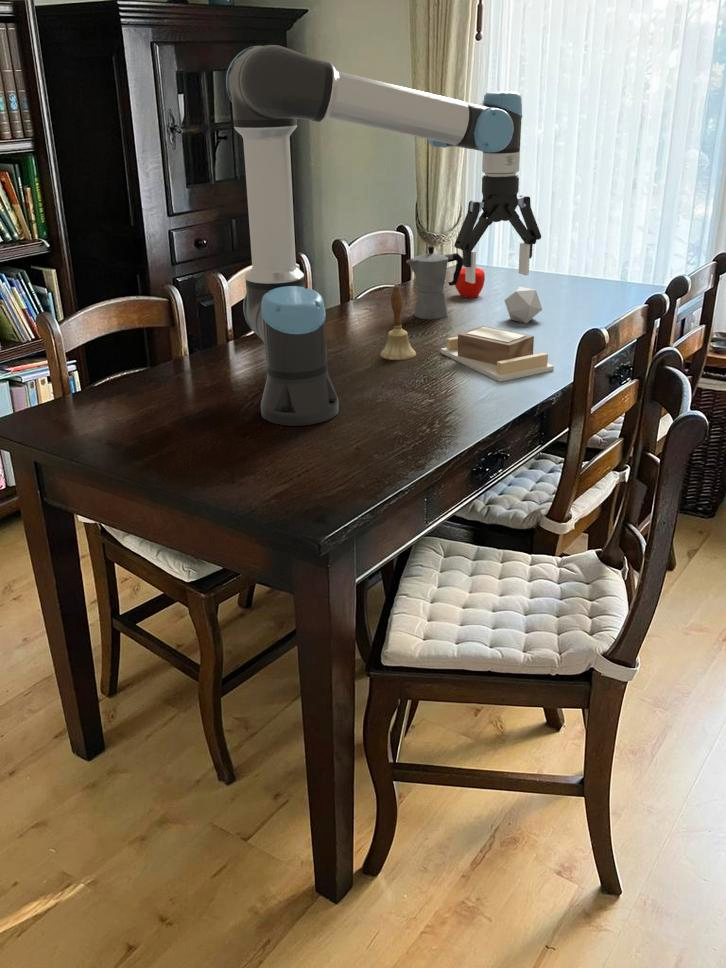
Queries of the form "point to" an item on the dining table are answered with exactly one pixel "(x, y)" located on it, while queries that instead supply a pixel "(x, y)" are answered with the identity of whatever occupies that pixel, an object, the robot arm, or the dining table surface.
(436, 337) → the dining table surface
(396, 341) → the hand bell
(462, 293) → the apple
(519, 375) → the wall panel
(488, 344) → the frame
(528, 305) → the die
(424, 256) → the coffeepot
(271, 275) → the robot arm
